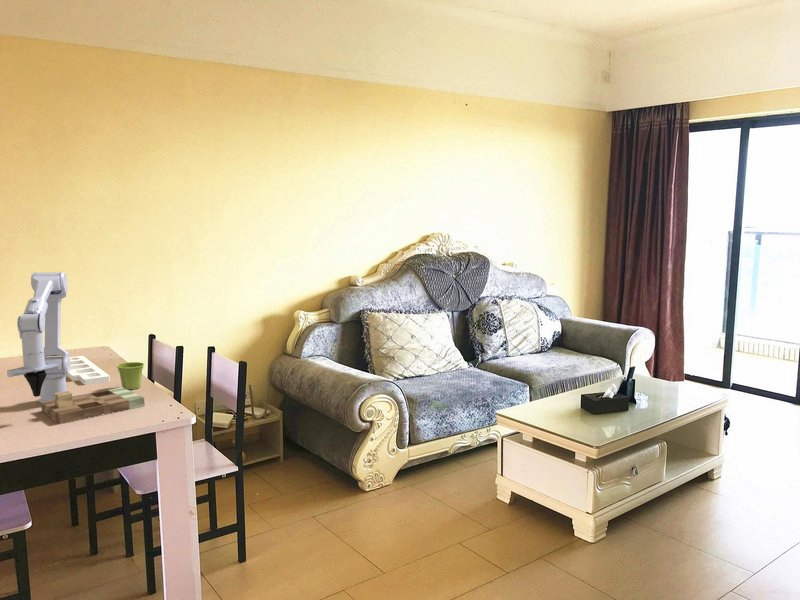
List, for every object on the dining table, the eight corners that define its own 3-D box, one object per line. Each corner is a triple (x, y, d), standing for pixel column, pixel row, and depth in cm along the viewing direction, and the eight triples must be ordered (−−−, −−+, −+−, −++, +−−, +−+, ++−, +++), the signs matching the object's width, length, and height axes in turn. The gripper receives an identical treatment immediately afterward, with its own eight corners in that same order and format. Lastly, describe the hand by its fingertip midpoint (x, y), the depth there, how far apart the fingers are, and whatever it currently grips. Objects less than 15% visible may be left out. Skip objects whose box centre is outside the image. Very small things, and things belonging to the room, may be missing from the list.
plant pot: (137, 383, 246) (135, 360, 245) (150, 387, 240) (149, 364, 239) (113, 388, 239) (111, 365, 238) (126, 392, 233) (124, 369, 232)
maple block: (54, 405, 207) (54, 393, 207) (68, 402, 210) (67, 390, 209) (59, 408, 204) (58, 395, 204) (72, 405, 207) (71, 393, 207)
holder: (110, 382, 249) (109, 375, 248) (57, 390, 238) (57, 383, 237) (83, 361, 284) (82, 355, 284) (36, 367, 273) (35, 361, 273)
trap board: (41, 411, 211) (41, 402, 211) (122, 395, 229) (122, 387, 229) (60, 423, 198) (59, 414, 198) (144, 406, 216) (144, 397, 216)
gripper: (10, 358, 192) (13, 403, 193) (63, 351, 202) (66, 393, 203) (3, 354, 197) (7, 398, 198) (55, 347, 207) (58, 389, 208)
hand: (36, 395), depth 201 cm, fingers closed
